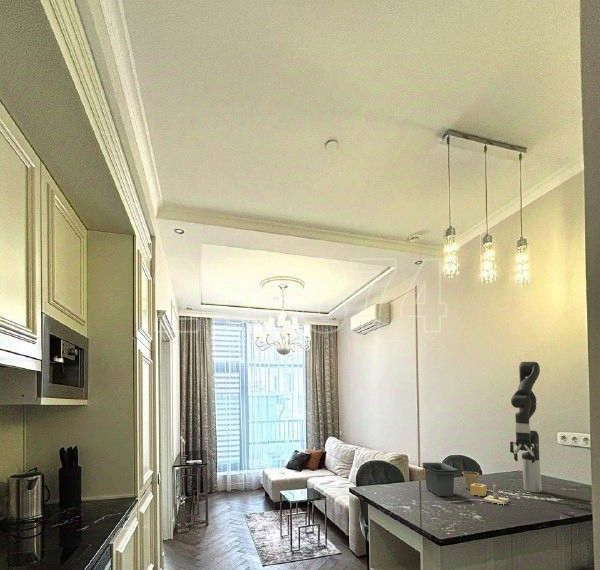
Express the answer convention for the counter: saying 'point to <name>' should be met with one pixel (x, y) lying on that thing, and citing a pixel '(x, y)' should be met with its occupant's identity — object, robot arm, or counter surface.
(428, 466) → the storage bin
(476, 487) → the ring
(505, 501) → the post stand
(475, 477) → the flower pot
